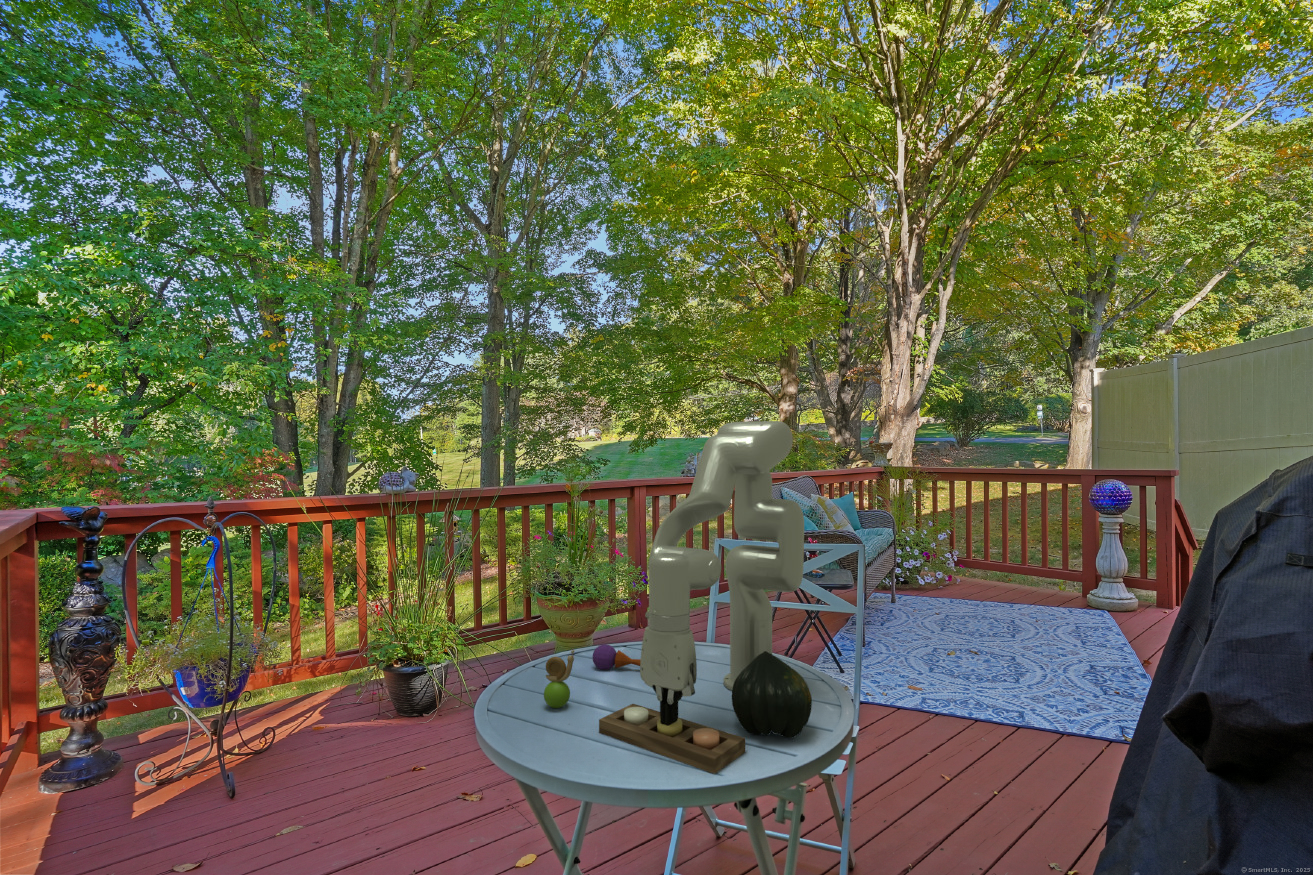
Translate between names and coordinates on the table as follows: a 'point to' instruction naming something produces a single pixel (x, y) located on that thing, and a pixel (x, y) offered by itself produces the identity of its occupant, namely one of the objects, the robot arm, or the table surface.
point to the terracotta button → (706, 738)
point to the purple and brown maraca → (611, 658)
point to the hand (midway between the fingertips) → (669, 722)
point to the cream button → (636, 715)
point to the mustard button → (670, 728)
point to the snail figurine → (558, 681)
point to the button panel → (674, 740)
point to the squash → (771, 698)
